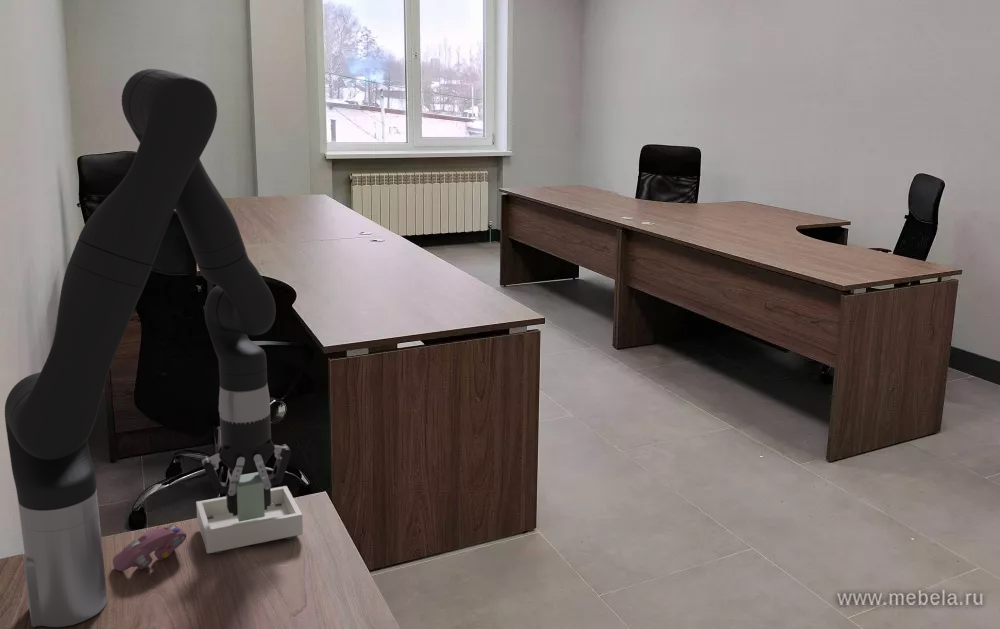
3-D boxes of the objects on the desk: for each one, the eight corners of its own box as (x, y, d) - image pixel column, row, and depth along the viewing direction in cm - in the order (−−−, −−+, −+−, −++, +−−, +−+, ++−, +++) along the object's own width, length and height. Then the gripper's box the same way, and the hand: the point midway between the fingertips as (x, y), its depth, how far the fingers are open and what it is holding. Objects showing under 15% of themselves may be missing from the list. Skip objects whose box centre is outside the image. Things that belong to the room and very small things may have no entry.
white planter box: (207, 560, 126) (206, 533, 125) (197, 527, 135) (196, 501, 134) (302, 540, 133) (302, 514, 131) (287, 510, 142) (286, 485, 141)
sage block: (238, 521, 130) (237, 487, 129) (234, 510, 134) (232, 476, 132) (264, 516, 132) (263, 482, 130) (259, 505, 136) (258, 472, 134)
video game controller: (124, 587, 121) (133, 557, 118) (108, 565, 123) (116, 534, 120) (184, 559, 129) (194, 530, 126) (168, 538, 131) (177, 509, 127)
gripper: (200, 427, 122) (206, 531, 126) (296, 413, 128) (299, 513, 133) (193, 409, 128) (199, 508, 133) (285, 397, 135) (288, 492, 139)
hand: (249, 510), depth 133 cm, fingers closed on sage block, 4 cm apart
